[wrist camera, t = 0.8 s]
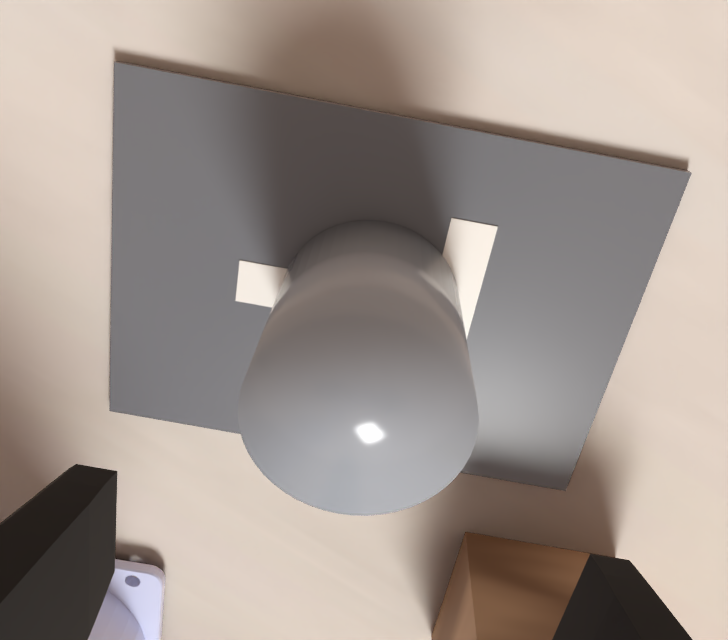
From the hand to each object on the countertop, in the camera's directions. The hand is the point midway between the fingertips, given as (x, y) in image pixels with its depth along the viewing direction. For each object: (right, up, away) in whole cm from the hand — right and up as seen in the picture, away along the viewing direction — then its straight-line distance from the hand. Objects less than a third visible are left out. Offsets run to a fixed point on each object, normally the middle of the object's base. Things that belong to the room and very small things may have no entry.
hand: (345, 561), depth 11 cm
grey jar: (0, +4, +8) cm, 9 cm away
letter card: (0, +4, +8) cm, 9 cm away
